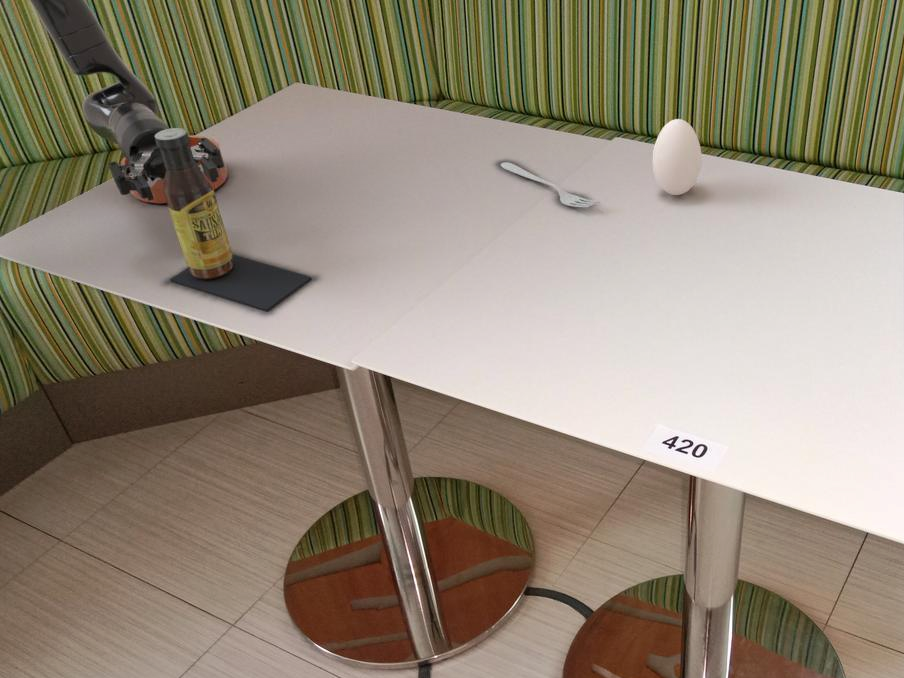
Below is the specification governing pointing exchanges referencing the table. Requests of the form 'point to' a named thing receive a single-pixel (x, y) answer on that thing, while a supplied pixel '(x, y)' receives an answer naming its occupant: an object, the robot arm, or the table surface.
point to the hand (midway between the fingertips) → (181, 184)
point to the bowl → (158, 186)
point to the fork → (564, 196)
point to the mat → (248, 283)
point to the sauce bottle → (193, 208)
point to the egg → (676, 157)
